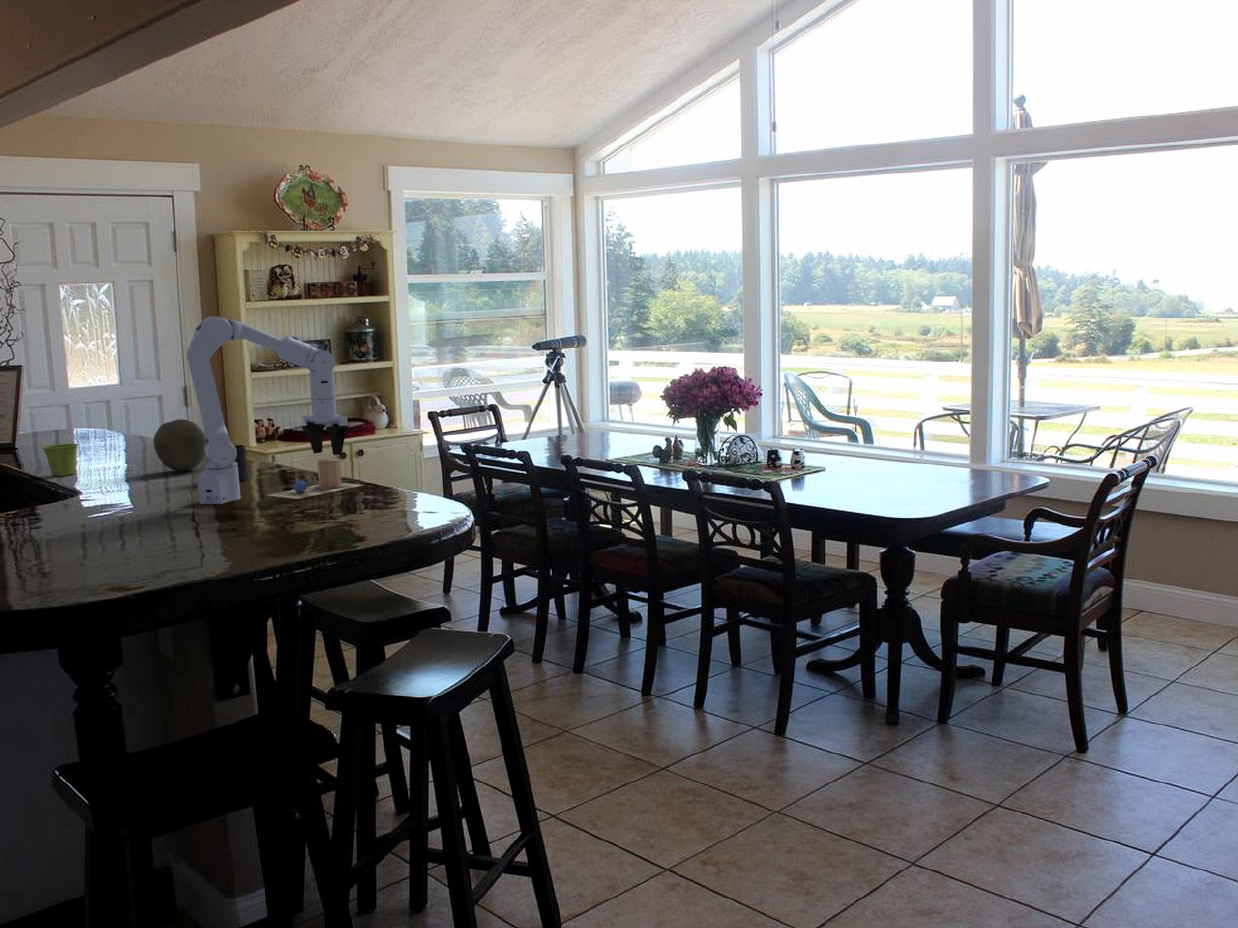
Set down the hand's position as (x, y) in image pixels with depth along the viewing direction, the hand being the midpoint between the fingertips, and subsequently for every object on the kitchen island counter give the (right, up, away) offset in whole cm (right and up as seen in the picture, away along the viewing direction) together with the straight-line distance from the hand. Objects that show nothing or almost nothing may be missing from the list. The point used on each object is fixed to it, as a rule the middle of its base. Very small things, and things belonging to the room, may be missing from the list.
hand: (327, 453), depth 288 cm
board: (-2, -10, -2) cm, 10 cm away
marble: (-5, -8, -6) cm, 11 cm away
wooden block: (0, -8, +1) cm, 8 cm away
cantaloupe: (-53, -5, +47) cm, 71 cm away
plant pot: (-90, -6, +52) cm, 104 cm away
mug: (-33, -7, +27) cm, 44 cm away
